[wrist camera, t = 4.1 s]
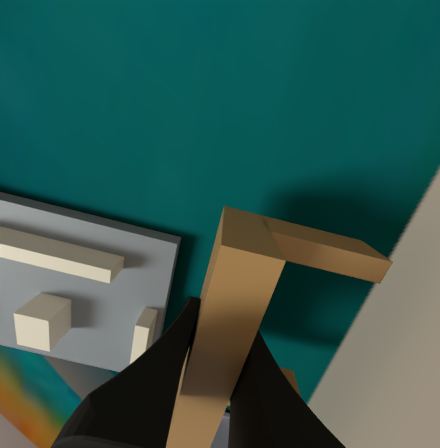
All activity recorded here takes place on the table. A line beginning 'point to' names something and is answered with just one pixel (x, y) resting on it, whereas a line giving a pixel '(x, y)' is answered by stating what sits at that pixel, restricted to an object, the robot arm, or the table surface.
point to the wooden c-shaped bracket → (249, 308)
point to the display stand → (81, 283)
